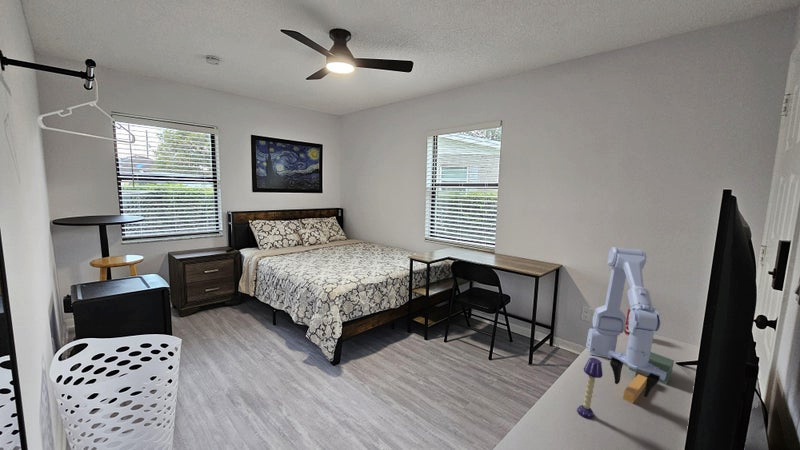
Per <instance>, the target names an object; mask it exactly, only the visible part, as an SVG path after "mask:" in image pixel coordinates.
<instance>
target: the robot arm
mask: <svg viewBox="0 0 800 450" xmlns="http://www.w3.org/2000/svg"><path fill="white" fill-rule="evenodd" d="M606 262H607V263H606V264H607V266H609V267H611V270H610V275H609V281H608V286H607V291H606V298H605V302H604V305H600V306H599V307H596V308H595V310H594V313H593V316H592V327H593V328H589V329H588V332H587V338H586V343H585V346H586V349H587V350H588V353H589V355H591V356H596V357H602V358H606V359H610V362H609V366H610V367H611V370H612V372H613V377H614V384H615V385H618V384H619V383H620V382H621V376H622V375H621V374H622V368H623V365H627V366H628V368H629V367H630V368H633V369H639V370H642V371H644V372H647V373H649V374H650V375H649V376H648V377H647V384H646V387H645V388H644V393H643V398H646V399H647V398H648V397H649V395H650V392H651V390H652V389H653V388H654V386H655V385H657V383H659V380H660V379H661V380H665V378H666V373H667V372H665V371H663V370H661V369H660V367H657V366H655V365H652V364H650V363H648V362H649V357H650V352H652V351H651V350H652V345H653V340H654V335H655V332H658V331H659V330H660V329H661V316H660V314H659V312H658V310H657V309H656V308H655V307H653V303H652V297H651V295H650V291H649V290H648V289H647V288H645V287H644V279H643V269H644V268H645V265H646V262H647V253H646V251H645V250H644V249H635V248H626V247H625V248H624V247H616V246H612V247H611V248H610V249H609V251H608V256H607V260H606ZM626 280H627V283H628V285H629V289H628V290H627V293H626V295H627V300H628V305H629V308H630V310H631V311H630V313H629V327H628V328H629V331H630V333H629V336H628V339H627V345H626V352H625V353H620V352H617V351H616V348H617V342H618V337H619V336H620V335H621V334H623V333H625V332H624V330H625V326H626V319H627V316H626V314H625V313H624V312H623V311H622V310H621V304H622V299H623V294H624V293H623V292H624V289H625V283H626ZM588 346H589V347H588ZM587 347H588V348H587Z"/></svg>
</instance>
